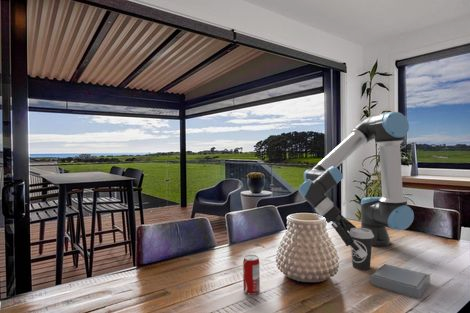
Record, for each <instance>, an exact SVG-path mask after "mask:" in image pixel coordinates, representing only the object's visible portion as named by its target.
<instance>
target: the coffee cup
mask: <svg viewBox="0 0 470 313" xmlns="http://www.w3.org/2000/svg"><path fill="white" fill-rule="evenodd" d="M348 233H349V234H350V236H351V237H352V239H353V241H354V240H355V241H356V242H357V243H358V244H359V246H360V247H361V248H362V249H363V250H364V251H365V252H366V253H367V255H366V256H365V257H364V258H361V257H360V256H359V255H358V254H357V253H356V252H355V251H354V250H353V249H352V248H351V247H350V252H351V253H350V254H351V261H352V262H351V263H352V267H353V268H354V269H357V270H360V271H368V270H370V268H371V260H372V259H371V258H372V250H373V246H372V240H373V238H374V235H373V233H372V231H371V230H369V229H366V228H361V227H357V228H351V230H350V231H348Z"/></svg>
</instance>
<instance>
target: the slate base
mask: <svg viewBox="0 0 470 313" xmlns="http://www.w3.org/2000/svg"><path fill="white" fill-rule="evenodd" d="M430 284H431V274H428V273H424V272H420V271H416V270H412V269H407V268H403V267H399V266H395V265H391V264H387V263H384V264H383V265H382V266H380V267H379V268H378V269H377V270H376V271H374V272H373V273H372V274H371V275H370V285H372V286H376V287H378V288H381V289H386V290H388V291H391V292H396V293H399V294H402V295H405V296H409V297H413V298H415V299H419V300H420V299H421V298H422V296H423V294H424V293H425V292H426V290H427V289H428V287H429V286H430Z"/></svg>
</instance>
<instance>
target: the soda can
mask: <svg viewBox="0 0 470 313" xmlns="http://www.w3.org/2000/svg"><path fill="white" fill-rule="evenodd" d="M259 259H260V258H259V256H258V255H256V254H246V255H244V257H243V262H242V265H243V266H242V268H243V269H242V273H243V274H242V275H243V276H242V277H243V278H242V279H243V292H244V291H245V292H246V293H249V294H254V295H256V294H255V293H257V294H258V293H259V292H260V290H261V285H260V284H261V282H260V279H261V278H260V273H261V272H260V260H259ZM245 292H244V293H245ZM246 293H245V294H246ZM249 294H248V295H249Z"/></svg>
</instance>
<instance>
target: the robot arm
mask: <svg viewBox="0 0 470 313" xmlns="http://www.w3.org/2000/svg"><path fill="white" fill-rule="evenodd" d="M409 129H410V124H409V120H408V119H407V117H406V116H405V115H404V114H403V113H402V112H399V111H388V112H383V113H379V114H372V115H371V116H368V117H366V118H365V119H363V120H362V121H361V122H360V123H359V124H357V125H356V126H355V127H354V128H353V129H351V131H350V134H349V135H348V136H347V137H346V138H345V139H344V140H342V141H341V142H340V143H339V144H338V145H337V146H335V148H333V149H332V150H331V151H330V152H329V153H328V154H327V155H325V157H324V158H323V159H321V160H320V161H319V162H318V163H317V164H316V165H314V166H313V167H312V168H309V169H306V170H305V171H304V172H303V180H304V182H302V183H301V184H300V185H299V187H298V189H297V190H298V193H299V194H300V195H301V196H302V198H303V199H305V201H307V203H309V205H310V206H312V208H313V209H314V210H315V213H318V214H319V215H320V216H323V217H325V218H326V221H327V222H326V221H325V222H326V223H331V222H332V223H331V224H330V225H331V226H332V228H333V229H334V230H335V232H336V233H337V234H338V236H339V237H340V238H341V240H342V242H343V243H344V244H345V246H346V247H350V249H351V248H352V249H353V250H354V251H355V252H356V253H357V254H358V255H359V256H360V257H361V258H364V257H365V256H366V255H367V253H366V252H365V251H364V250H363V249H362V248H361V247H360V246H359V244H358V243H357V242H356V241H355V240H354V241H353V239H352V237H351V236H350V234H349V231H350V230H351V228H358V227H357V226H355V224H353V223H352V222H351V221H349V220H348V219H347V218H346V217H345V216H343V214H341V213H342V211H341V210H340V209H339V208H338V206H336V205H334V202H333V201H332V200H331V199H330V198H329V197H328V196H327V195H326V194H327V193H328V192H329V191H330V190H331V189H333V188H334V187H335V186H336V185H338V184H339V182H340V181H341V180H342V179H343V174H342V172H341V171H340V169H338V167H340V166H341V164H342V163H344V161H346V160H347V159H348V158H349V157H350V156H351V155H353V153H355V151H356V150H358V148H360V147H361V146H362V145H367V144H368V143H369V142H370V141H372V140H375V144H377V145H378V147H379V161H380V162H379V164H380V178H381V180H380V181H381V196H375V197H374V196H372V197H371V196H369V197H363V198H361V200H360V216H361V217H360V223H361V224H360V228H366V229H369V230H371V231H372V233H373V235H374V238H373V240H372V247H386V246H389V245H390V244H391V238H390V235H389V232H388V229H387V228H390V229H392V230H396V231H404V230H406V229H408V228H409V227H410V226H411V225H412V223H413V222H414V218H415V215H414V211H413V209H412V208H411V207H410V206H408V200H407V198H406V197H405V196H404V192H403V175H402V174H403V172H402V159H401V158H402V156H401V144H402V143H403V142H404V140H405V139H404V136H406V135H407V134H408V132H409ZM323 217H322V218H323Z"/></svg>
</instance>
